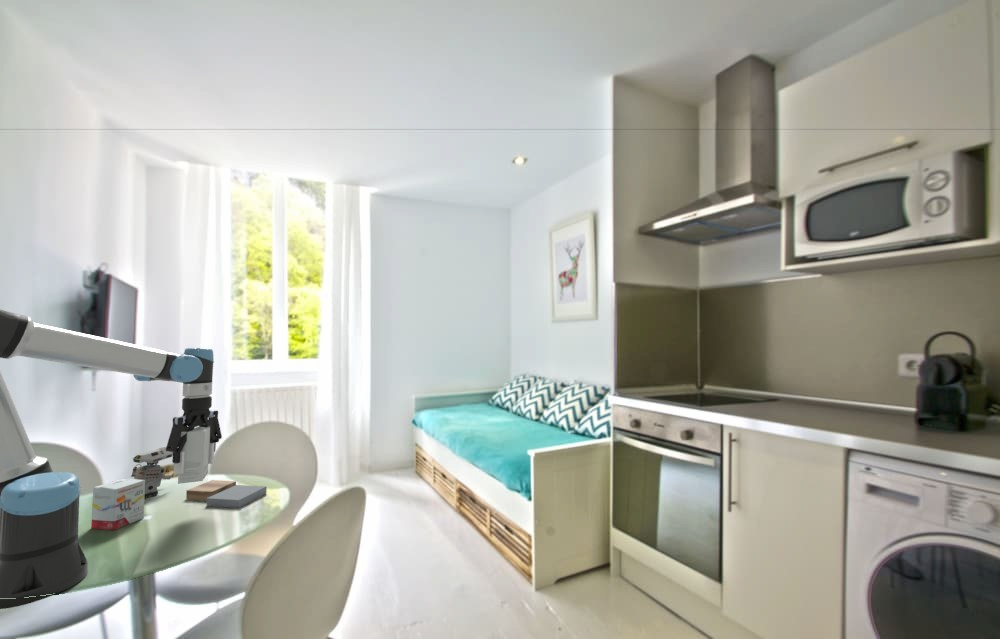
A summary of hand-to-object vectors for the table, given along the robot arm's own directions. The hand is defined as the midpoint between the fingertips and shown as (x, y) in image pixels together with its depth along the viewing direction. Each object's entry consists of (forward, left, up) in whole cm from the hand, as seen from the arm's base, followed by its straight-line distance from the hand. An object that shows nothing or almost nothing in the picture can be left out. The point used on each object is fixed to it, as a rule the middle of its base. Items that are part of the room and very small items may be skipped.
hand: (194, 468), depth 126 cm
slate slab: (+11, -5, -14) cm, 19 cm away
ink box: (-9, +17, -14) cm, 24 cm away
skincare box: (0, 0, -3) cm, 3 cm away
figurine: (+13, +31, -14) cm, 36 cm away
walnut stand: (+14, +8, -14) cm, 22 cm away
